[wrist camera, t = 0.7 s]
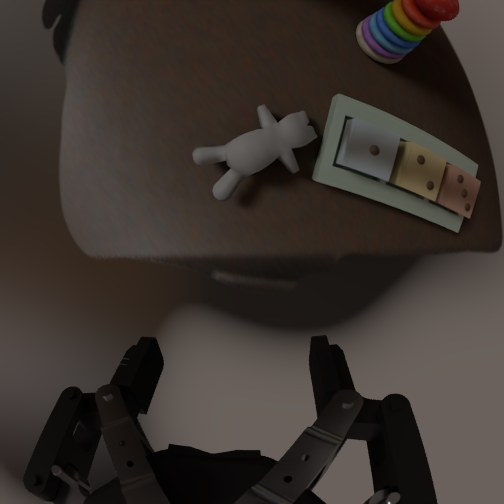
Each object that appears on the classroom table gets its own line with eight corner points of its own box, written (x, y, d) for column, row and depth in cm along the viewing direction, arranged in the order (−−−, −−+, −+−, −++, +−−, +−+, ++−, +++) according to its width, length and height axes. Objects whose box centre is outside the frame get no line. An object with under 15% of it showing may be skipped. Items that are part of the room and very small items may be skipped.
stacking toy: (410, 60, 27) (490, 30, 10) (370, 70, 29) (445, 31, 12) (386, 17, 25) (450, -32, 8) (344, 25, 26) (397, -38, 9)
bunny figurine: (331, 156, 31) (222, 213, 32) (318, 156, 36) (223, 206, 37) (296, 88, 28) (182, 145, 29) (287, 97, 33) (189, 147, 34)
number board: (332, 97, 31) (338, 93, 28) (467, 162, 33) (478, 165, 30) (311, 178, 36) (315, 181, 33) (448, 227, 37) (458, 232, 35)
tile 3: (440, 162, 31) (456, 166, 27) (465, 176, 31) (481, 181, 28) (429, 199, 33) (445, 206, 30) (455, 211, 34) (470, 219, 30)
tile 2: (399, 141, 31) (414, 142, 27) (431, 157, 31) (447, 160, 27) (388, 181, 33) (402, 187, 29) (420, 195, 33) (435, 201, 29)
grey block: (347, 120, 30) (357, 117, 26) (387, 135, 30) (401, 136, 27) (335, 163, 32) (345, 165, 29) (375, 177, 33) (389, 181, 29)
